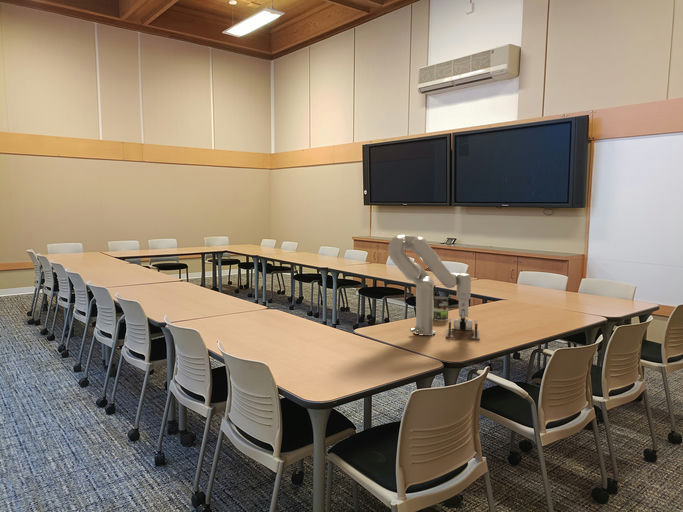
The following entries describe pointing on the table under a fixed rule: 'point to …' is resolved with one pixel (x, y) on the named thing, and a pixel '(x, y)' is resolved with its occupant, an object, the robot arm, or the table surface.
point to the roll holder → (462, 333)
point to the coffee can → (440, 308)
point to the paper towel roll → (457, 324)
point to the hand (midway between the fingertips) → (462, 327)
